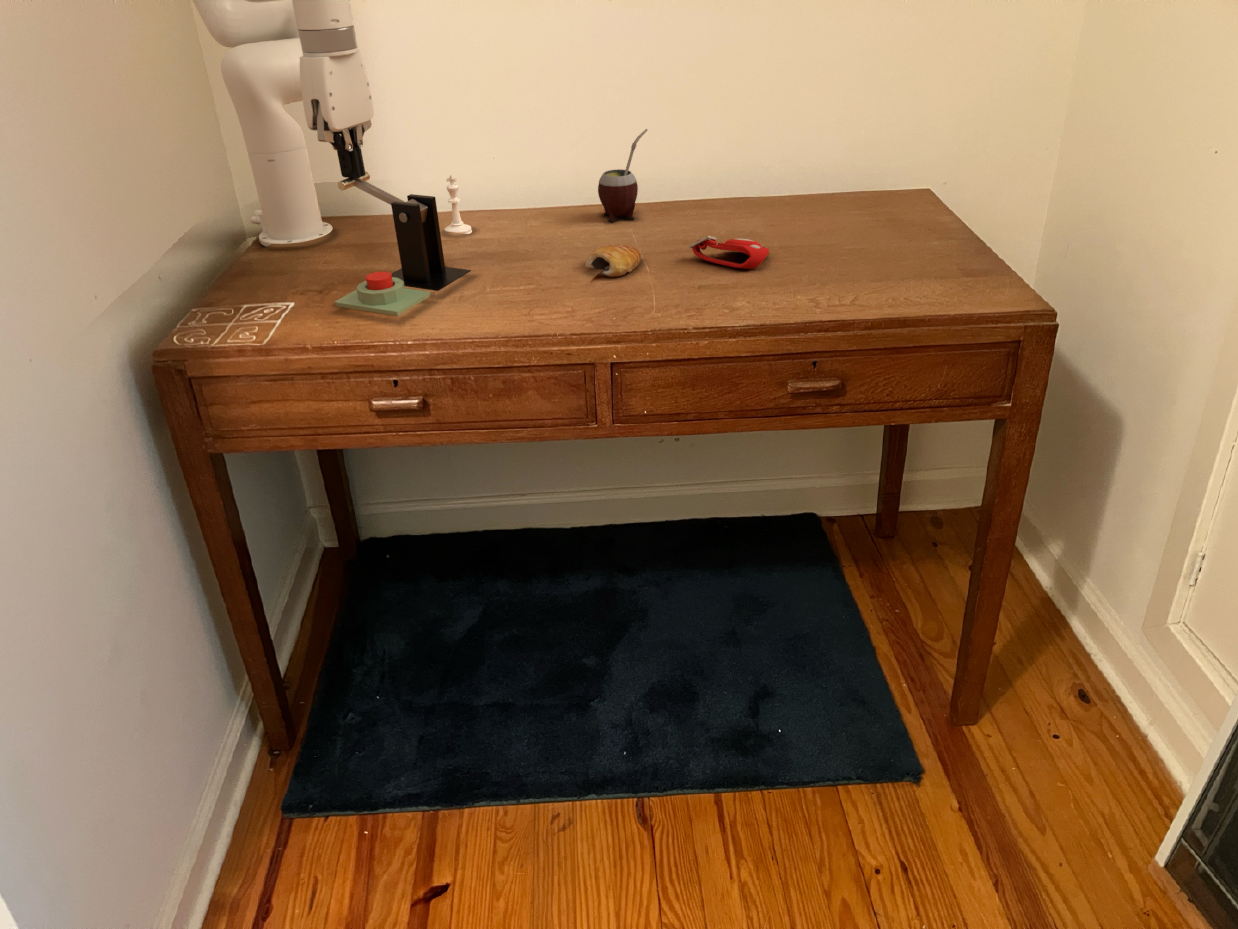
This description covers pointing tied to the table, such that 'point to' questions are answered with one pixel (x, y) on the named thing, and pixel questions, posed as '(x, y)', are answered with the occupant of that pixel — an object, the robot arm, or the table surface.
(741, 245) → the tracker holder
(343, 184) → the lever
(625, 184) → the mate gourd
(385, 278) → the button
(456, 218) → the chess piece
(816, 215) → the table surface
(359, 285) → the button box
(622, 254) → the pastry
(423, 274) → the bracket
